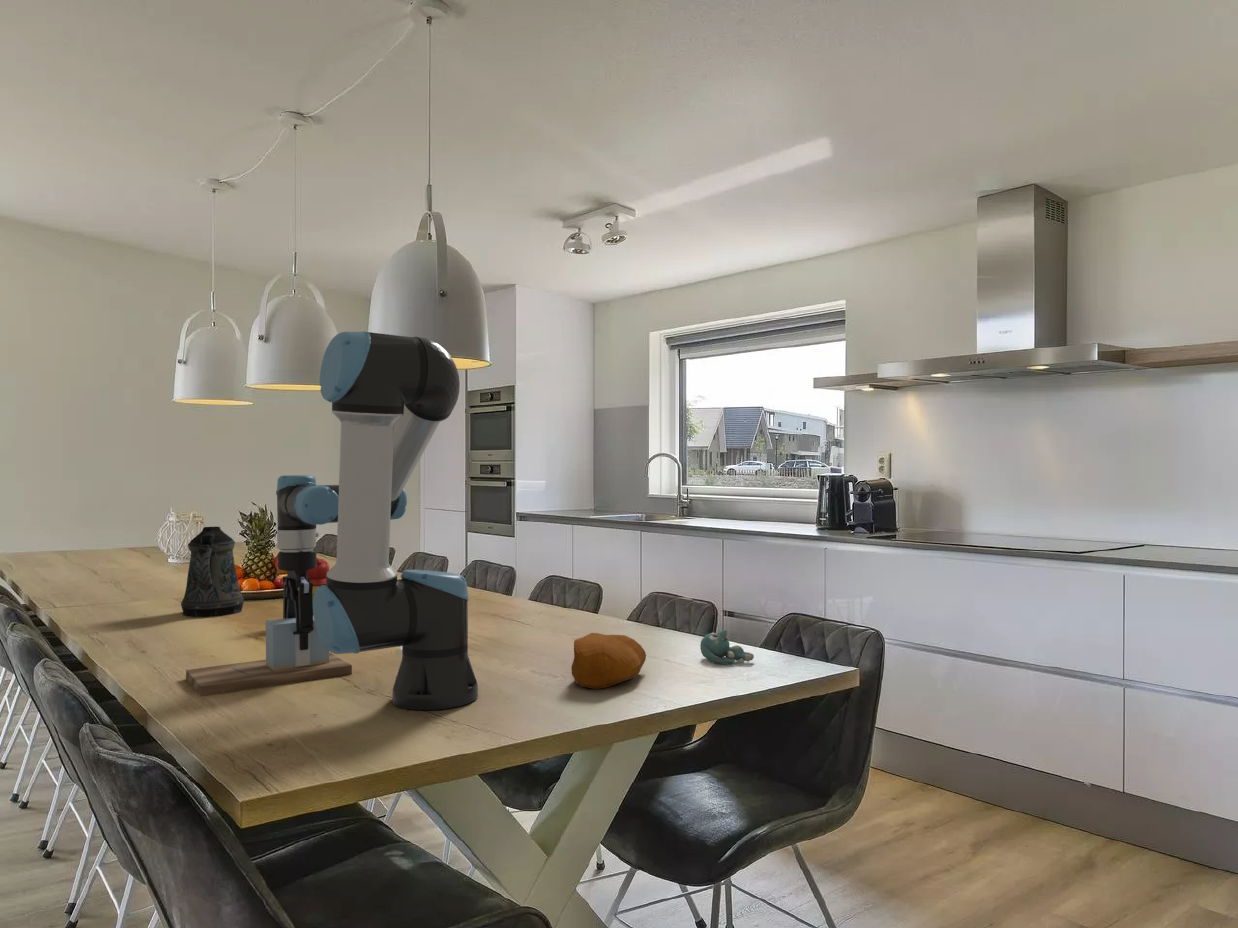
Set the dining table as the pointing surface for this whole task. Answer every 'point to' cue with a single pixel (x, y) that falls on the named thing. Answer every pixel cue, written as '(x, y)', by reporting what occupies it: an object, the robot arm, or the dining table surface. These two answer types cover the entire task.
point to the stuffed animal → (722, 649)
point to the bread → (606, 660)
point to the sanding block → (290, 645)
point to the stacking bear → (318, 574)
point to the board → (259, 675)
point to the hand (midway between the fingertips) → (298, 662)
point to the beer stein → (212, 576)
